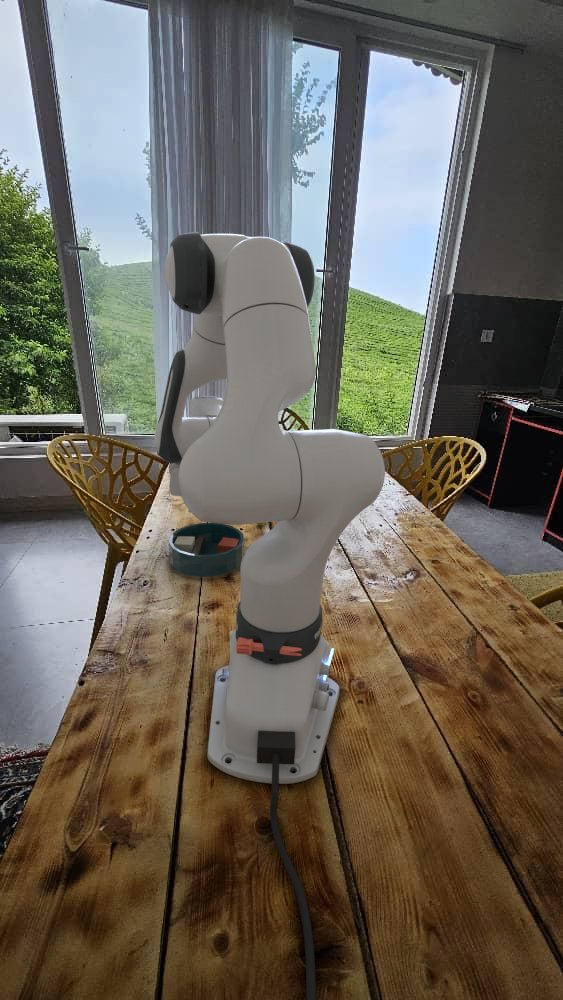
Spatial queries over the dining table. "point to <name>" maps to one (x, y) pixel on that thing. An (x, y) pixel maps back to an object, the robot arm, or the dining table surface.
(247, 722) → the robot arm
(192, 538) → the cream block
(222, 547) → the terracotta block
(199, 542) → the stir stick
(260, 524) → the fruit
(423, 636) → the dining table surface
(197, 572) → the bowl
